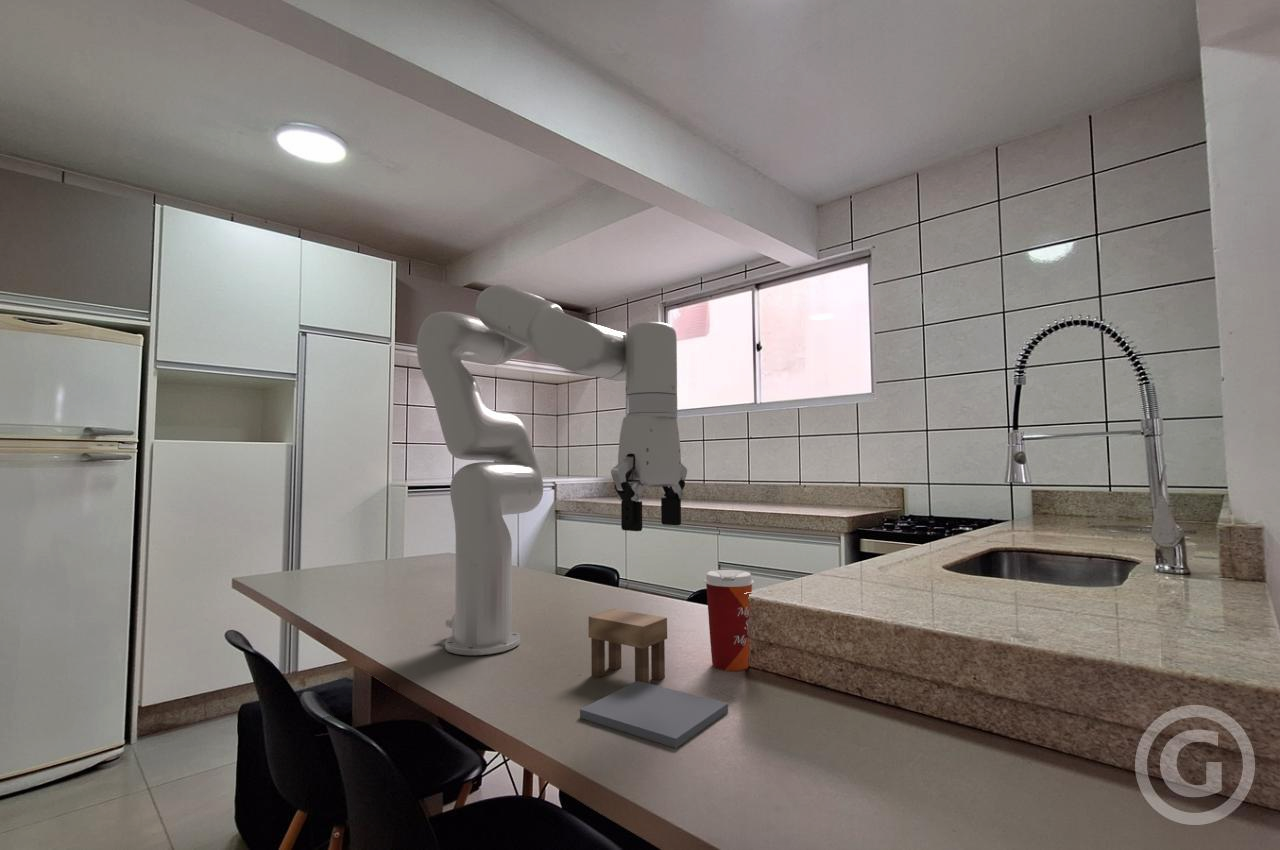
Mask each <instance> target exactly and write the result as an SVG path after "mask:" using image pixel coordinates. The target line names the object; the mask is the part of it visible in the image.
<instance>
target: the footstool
mask: <svg viewBox="0 0 1280 850" xmlns="http://www.w3.org/2000/svg"><path fill="white" fill-rule="evenodd" d="M588 638H590V639H591V642H590V643H591V644H590V645H591V646H590V647H591V658H590V659H591V661H590V662H591V676H593V677H597V678H601V677H603V676H605V675H606V667H605V666H606V649H605V648H606V647H605V646H606V643H605V642H608V668H609V669H612V670H618V669H620V668H622V645H623V646H629V647H633V648H634V682H636V681H641V682H645V683H649V684H650V677H651V679H652V680H656V681H661V680H663V679H664V678H665V677H666V671H665V670H666V668H665V667H666V666H665V665H666V663H665V662H666V661H665V658H666V656H665V655H666V654H665V650H666V649H665V648H666V647H665V640H667V639H668V618H667V617H664V616H659V615H653V614H646V613H641V612H635V611H629V610H623V609H616V608H612V609H608V610H606V611H603V612H599V613H596V614H593V615H590V616H588ZM649 650H650V652H649ZM650 653H651V655H650ZM650 656H651V657H650ZM649 657H650V658H649ZM649 659H650V661H651V664H650V661H649ZM649 665H651V667H650V666H649ZM649 668H651V671H650V669H649ZM650 672H651V673H650ZM650 675H651V676H650Z"/></svg>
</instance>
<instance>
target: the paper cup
mask: <svg viewBox="0 0 1280 850" xmlns="http://www.w3.org/2000/svg"><path fill="white" fill-rule="evenodd" d="M703 583H705V587H706V597H707V598H706V599H707V601H706V602H707V614H708V625H709V627H708V628H709V639H710V641H709V643H710V652H711V653H710V655H711V664H712V667H713V668H714V669H716V670H720V671H723V672H740V671H745V670H747V669H749V666H748V656H749V657H750V653H749V638H748V635H747V632H748V620H749V619H748V618H749V611H750V605H749V602H748V597H749V594H753V593H747V594H744V593H746V592H753V591H752V590H753V585H754V584H755V581H754V580H753V577H752V575H751V573H750V572H748V571H744V570H738V569H737V570H736V569H719V570H718V569H717V570H711V571H708V572H707V573H706V577H705V578H704V582H703Z"/></svg>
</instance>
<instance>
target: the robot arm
mask: <svg viewBox="0 0 1280 850" xmlns="http://www.w3.org/2000/svg"><path fill="white" fill-rule="evenodd" d="M475 310H476V315H477V316H478V317H476V316H473V315H468V314H465V313H461V312H455V311H437V312H434V313H432V314H430V315H428V316H427V317H426V318H425V319H424V321H423V322H422V324H421V326H420V328H419V331H418V335H417V340H416V354H417V355H416V356H417V360H418V365H419V368H420V370H421V373H422V375H423V377H424V380H425V382H426V384H427V387H428V388H429V391H430V394H431V396H432V399H433V403H434V407H435V410H436V414H437V418H438V421H439V424H440V425H439V426H440V428H441V431H442V435H443V438H444V443H445V445H446V447H447V450H448V452H449V453H450V455H451V456H452V457H454V458H455V459H460V460H465V461H481V462H472V463H469V464H466V465H464V466H462V467H461V468H459V469H458V470H457V471H456V472H455V473H454V474H453V477H452V479H451V482H450V488H449V489H450V490H449V491H450V493H449V494H450V501H451V507H452V513H453V519H454V528H455V529H454V531H455V573H454V574H455V575H454V576H455V579H454V580H455V581H454V582H455V583H454V584H455V585H454V615H453V616H452V617H451V619H450V618H449V619H447V620H446V621H445V623H444V624H445V627H446V628H449V629H451V636H449V637H447V639H446V640H445V641H444V648H445V649H444V650H446V651H447V652H448V653H451V654H455V655H459V656H460V655H461V656H484V655H485V656H486V655H493V654H499V653H504V652H506V651H507V652H508V651H509V650H512V649H515V648H516V647H518V645H520V643H521V635H520V633H518V632H516V631H513V630H512V583H513V582H512V578H513V577H512V574H513V573H512V570H513V569H512V567H513V565H512V564H513V563H512V561H513V560H512V559H513V557H512V553H513V552H512V551H513V548H512V547H513V546H512V537H511V533H510V530H509V527H508V526H507V523H506V522H505V519H504V517H503V516H505V515H506V516H507V515H508V516H509V515H516V514H517V515H518V514H525V513H528V512H531V511H533V510H534V509H536V508H537V507H538V506H539V504H540V502H541V501H542V499H543V494H544V481H543V477H542V472H541V469H540V467H539V462H538V460H537V457H536V453H535V450H534V448H533V445H532V442H531V438H530V436H529V432H528V430H527V428H526V426H525V424H524V422H523V421H522V420H521V419H520V418H519V417H518V416H516V415H515V414H513V413H511V412H507V411H501V410H492V409H490V408H488V406H487V405H486V404H485V402H484V399H483V396H482V393H481V388H480V386H479V384H478V382H477V379H476V378H475V377H474V376H473V374H472V373H471V372H470V371H469V370H468V369H467V367H465V365H464V364H463V363H462V361H464V362H470V363H475V364H480V365H481V364H482V365H485V366H496V365H497V366H498V365H502V364H505V363H506V362H508V361H510V360H513V359H514V358H515V357H517V356H518V355H520V354H521V353H524V352H525V351H526V350H529V349H531V350H532V351H533V353H534V354H535V355H537V356H538V357H540V358H541V359H543V360H546V361H548V362H550V363H552V364H554V365H557V366H558V367H561V368H564V369H565V370H568V371H570V372H573V373H577V374H580V375H584V376H589V377H596V378H601V379H604V380H609V381H615V382H623V381H625V417H623V419H622V422H621V429H620V432H619V434H620V435H619V443H618V454H617V464H616V465H615V466H614V467H613V468H612V469H611V470H610V474H611V478H612V481H613V483H614V490H615V492H616V493H617V494H618V496H617V498H618V501H619V502H620V503H621V504H620V506H621V507H620V508H621V510H620V511H621V513H620V515H621V524H620V525H621V530H622V531H629V532H641V531H643V501H641V500H640V498H641V496H642V494H643V492H644V490H645V488H656V487H657V488H658V487H659V488H660V491H661V493H662V494H663V496H664V497H661V498H660V499H661V500H660V502H661V503H660V506H661V507H660V509H661V511H660V513H661V515H660V516H661V517H660V518H661V519H660V520H661V525H663V526H665V525H666V526H681V524H682V498H683V496H684V492H683V490H684V488H685V486H686V479H687V478H686V477H687V474H688V469H687V467H686V466H685V465H683V463H682V458H681V457H682V455H681V442H680V431H679V426H678V420H677V419H678V353H677V352H678V351H677V349H678V345H677V344H678V342H677V341H678V340H677V332H676V330H675V328H674V326H672V325H671V324H668V323H665V322H661V321H660V322H659V321H644V322H638V323H635V324H632V325H631V326H629V327H628V329H627V330H626V332H623V331H618V330H616V329H615V330H614V329H611V328H609V327H606V326H602V325H599V324H595V323H591V322H588V321H586V320H583V319H581V318H578V317H575V316H573V315H570V314H567V313H565V312H564V310H563V309H562V307H561V306H560V305H559V304H557V303H554V302H552V301H549V300H546V299H545V298H544V297H541V296H540V295H536V294H534V293H531V292H529V291H525V290H523V289H519V288H516V287H513V286H510V285H507V284H506V285H505V284H495V285H491V286H489V287H486V288H485V289H484V290H482V291H481V292H480V293H479V295H478V297H477V299H476V303H475Z"/></svg>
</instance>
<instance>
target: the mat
mask: <svg viewBox="0 0 1280 850" xmlns="http://www.w3.org/2000/svg"><path fill="white" fill-rule="evenodd" d="M727 713H729V703H728V702H724V701H720V700H716V699H711V698H709V697H708V698H707V697H704V696H700V695H696V694H692V693H689V692H684V691H680V690H676V689H672V688H668V687H665V686H660V685H656V684H652V683H650V682H649V683H645V682H641V681H636V682H635V681H634V682H632V683H630V684H628V685H627V686H624V687H622V688H620V689H618V690H617V691H615V692H612V693H610V694H608V695H606V696H604V697H602V698H600V699H598V700H596V701H593V702H592V703H589V704H588V705H586V706H584V707H581V708H579V718H580V719H582V720H585V721H590V722H593V723H596V724H599V725H602V726H606V727H609V728H611V729H614V730H617V731H621V732H623V733H627V734H630V735H634V736H637V737H639V738H643V739H646V740H649V741H653V742H655V743H660V744H661V745H662V744H663V745H666V746H668V747H671V748H674V749H677V748H679V747H680V746H681V745H683V744H685V743H686V742H688V741H689V740H690V739H691V738H693V737H694V736H696V735H697V734H698V733H700V732H701V731H704V729H705V728H707V727H708V726H710V725H712V724H713V723H714V722H715V721H717V720H718V719H720V718H721V717H722V716H724V715H726V714H727Z"/></svg>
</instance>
